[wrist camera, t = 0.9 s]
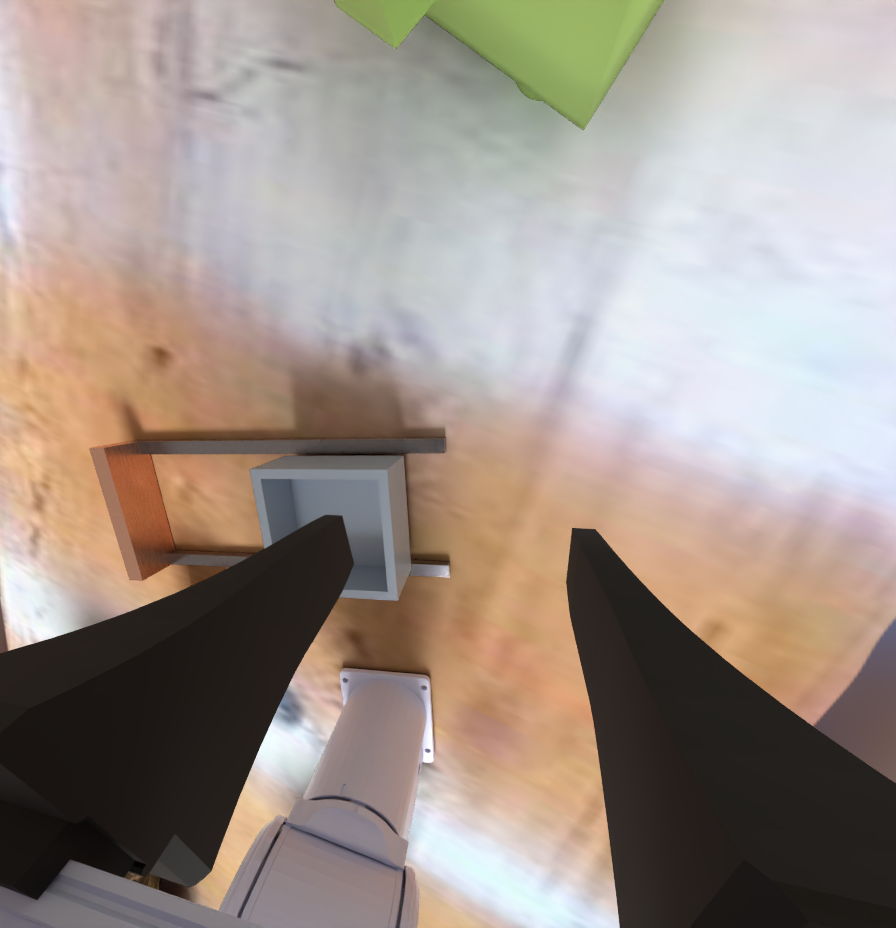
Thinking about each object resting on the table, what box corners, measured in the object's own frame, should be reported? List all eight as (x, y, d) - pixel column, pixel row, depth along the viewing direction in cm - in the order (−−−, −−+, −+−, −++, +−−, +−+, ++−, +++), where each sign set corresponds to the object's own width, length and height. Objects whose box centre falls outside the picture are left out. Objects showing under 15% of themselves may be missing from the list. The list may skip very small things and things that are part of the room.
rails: (450, 573, 25) (444, 597, 22) (166, 559, 29) (129, 579, 26) (445, 437, 23) (438, 445, 20) (133, 440, 26) (89, 448, 23)
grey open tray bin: (414, 562, 25) (397, 600, 21) (309, 557, 26) (272, 593, 22) (407, 452, 23) (387, 469, 19) (294, 452, 24) (249, 469, 20)
